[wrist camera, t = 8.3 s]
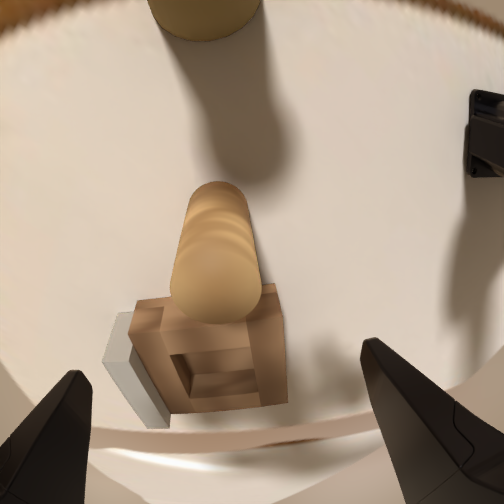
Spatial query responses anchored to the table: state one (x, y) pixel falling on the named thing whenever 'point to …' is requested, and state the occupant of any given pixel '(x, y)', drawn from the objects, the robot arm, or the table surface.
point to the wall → (134, 376)
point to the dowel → (216, 257)
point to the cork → (202, 17)
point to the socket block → (212, 356)
